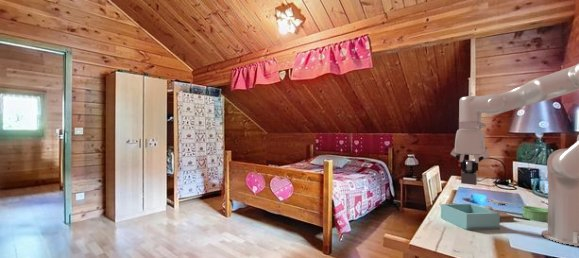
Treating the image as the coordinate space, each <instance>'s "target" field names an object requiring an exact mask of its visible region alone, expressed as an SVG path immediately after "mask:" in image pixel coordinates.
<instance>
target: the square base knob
mask: <svg viewBox="0 0 579 258" xmlns="http://www.w3.org/2000/svg"><path fill="white" fill-rule="evenodd" d="M474 161H475V160H470V159H469V160H468V159H464V162H465V172H462V171H461V173H460V176H461V177H460V179H461V180H460V184H464V185H470V186H471V185H473V186H476V185H477V184H478V173H477V172H476V173H474Z"/></svg>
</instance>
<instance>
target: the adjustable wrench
mask: <svg viewBox="0 0 579 258" xmlns="http://www.w3.org/2000/svg"><path fill="white" fill-rule="evenodd" d="M487 200H491V201H489V202H493V203H498V204H511V205H516V204H517V203H515V202H513V203H512V202H507V201H502V200H498V199H494V198H493V199H492V198H487V199H486V201H487ZM489 202H488V203H489ZM518 204H519V203H518ZM519 205H520V206H522V205H524V206H528V205H526V204H519ZM539 208H541V207H539ZM543 208H544V209H547V210H548V208H546V207H543Z"/></svg>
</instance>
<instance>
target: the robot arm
mask: <svg viewBox="0 0 579 258" xmlns="http://www.w3.org/2000/svg"><path fill="white" fill-rule="evenodd" d="M578 91H579V63H577V64H575V65H573V66H570V67H566V68H563V69H560V70H559V71H554V72H552V73H550V74H546V75H542V76H540V77H536V78H534V79H532V80H529V81H527V82H526V83H524V84H522V85H520V86H518V87H515V88H513V89H511V90H509V91H505V92H502V93H500V94H497V93H492V94H491V93H490V94H486V95H467V96H461V97H460V98H459V107H458V109H459V112H458V114H459V115H458V116H459V117H458V129H457V131H456V133H455V139H454V148H453V149H452V150H451V152H450V155H451V156H453V157H455V158H456V159H457V160H458V161H459V162H460V170H462V171H461V173H462V172H465V155H466V156H467V155H468V156H473V157H474V160H473V161H474V173H477V172H479V163H480V162H481V161H482V160H484V159H487V158H490V156H491V155H490V154H489V152H488V150H487V149H486V140H485V139H486V137H485V132H484V130H482V129H484V128H486V127H487V125H486V124H487V123H482V113H483V114H487V115H489V116H495V115H499V114H503V113H505V112H509V111H512V110H513V111H514V110H516V109H519V108H521V107H526V106H529V105H533V104H537V103H538V104H539V103H542V102H545V101H549V100H552V99H555V98H558V97H561V96H564V95H565V96H566V95H568V94H572V93H575V92H578ZM546 171H547V181H548V182H547V184H548V188H547V189H548V191H547V209H548V221H547V230H542V231H541V236H542V235H543V236H544V238H545V239H547V240H549V239H550V241H552V240H553V242H555V241H556V243H558V242H559V244H562V243H563V245H566V244H569V245H568V246H570V245H574V246H573V247H577V246H579V134H578V135H577V138H576V141H575V142H574V144H572V145H571V146H569V147H568V148H559V149H557V150H554V151H552V152H551V153H550V154H549V156H548V158H547V161H546ZM543 236H542V237H543Z"/></svg>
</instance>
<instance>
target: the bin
mask: <svg viewBox="0 0 579 258" xmlns="http://www.w3.org/2000/svg"><path fill="white" fill-rule="evenodd" d="M440 219H442V220H444V221H446V222H448V223H449V224H450V223H451V224H453V225H454V226H456V227H458V228H461V229H463V230H465V231H477V230H478V231H479V230H480V231H481V230H484V231H485V230H500V223H501V221H500V213H497V212H494V211H491V210H488V209H485V207H482V206H479V205H476V204H473V203H441V204H440Z"/></svg>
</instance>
